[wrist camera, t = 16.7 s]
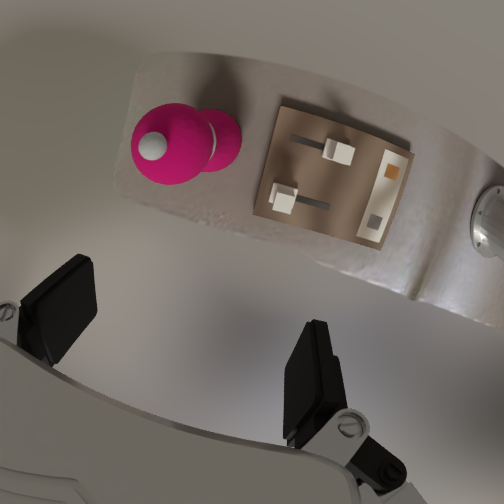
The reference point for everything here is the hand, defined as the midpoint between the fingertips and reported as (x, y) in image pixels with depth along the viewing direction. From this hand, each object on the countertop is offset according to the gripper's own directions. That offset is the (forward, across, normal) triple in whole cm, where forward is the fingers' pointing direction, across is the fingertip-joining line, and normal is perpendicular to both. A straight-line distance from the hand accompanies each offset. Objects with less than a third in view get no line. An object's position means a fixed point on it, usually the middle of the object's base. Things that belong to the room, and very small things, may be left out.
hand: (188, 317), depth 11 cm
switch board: (+26, -10, -4) cm, 28 cm away
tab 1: (+25, -4, -1) cm, 25 cm away
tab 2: (+25, -9, -8) cm, 27 cm away
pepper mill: (+26, +6, -5) cm, 28 cm away
